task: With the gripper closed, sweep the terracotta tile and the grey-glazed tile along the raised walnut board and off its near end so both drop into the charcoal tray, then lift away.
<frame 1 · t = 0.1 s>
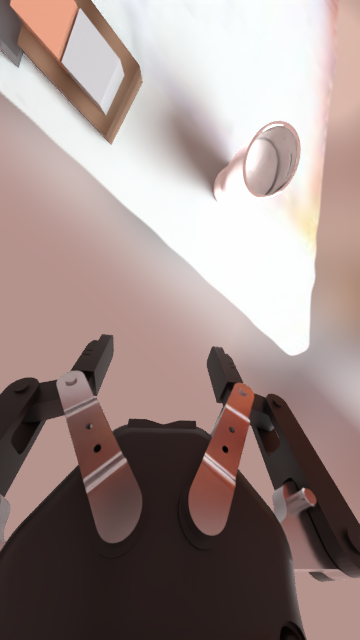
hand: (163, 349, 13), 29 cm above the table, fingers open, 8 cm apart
grey tile: (98, 76, 22), point 3 cm above the table, touching walnut board
terracotta tile: (56, 27, 20), point 3 cm above the table, touching walnut board
walnut board: (89, 73, 24), on the table
beer glass: (228, 187, 32), on the table
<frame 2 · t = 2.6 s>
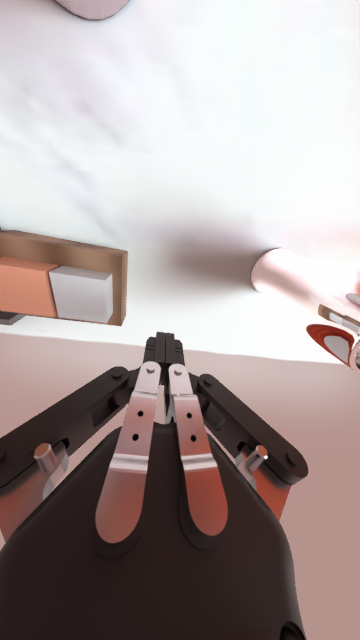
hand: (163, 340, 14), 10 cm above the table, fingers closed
grey tile: (90, 290, 19), point 3 cm above the table, touching walnut board
terracotta tile: (37, 283, 18), point 3 cm above the table, touching walnut board
walnut board: (78, 279, 21), on the table
beer glass: (271, 271, 23), on the table
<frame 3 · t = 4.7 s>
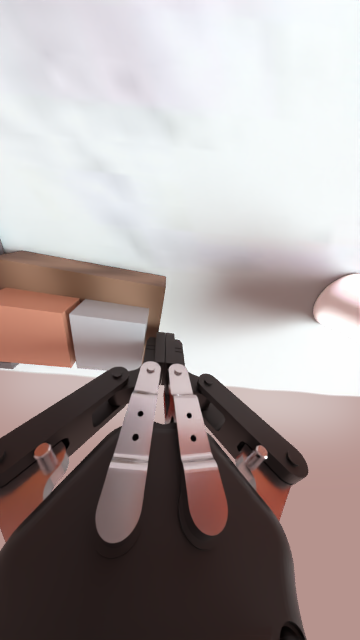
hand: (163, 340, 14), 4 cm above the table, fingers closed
grey tile: (117, 329, 15), point 3 cm above the table, touching gripper, walnut board
terracotta tile: (50, 320, 14), point 3 cm above the table, touching walnut board
walnut board: (100, 309, 17), on the table
beer glass: (339, 300, 18), on the table
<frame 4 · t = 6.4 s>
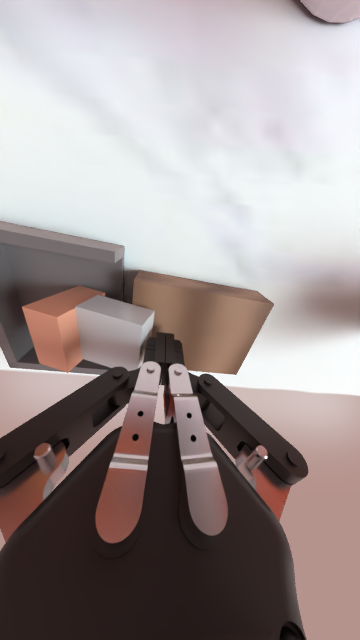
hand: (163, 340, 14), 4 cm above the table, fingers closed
charcoal tray: (75, 304, 16), on the table
grey tile: (125, 327, 15), point 3 cm above the table, tilted 16°, touching gripper, terracotta tile
terracotta tile: (87, 329, 14), point 4 cm above the table, tilted 106°, touching charcoal tray, grey tile
walnut board: (191, 320, 18), on the table
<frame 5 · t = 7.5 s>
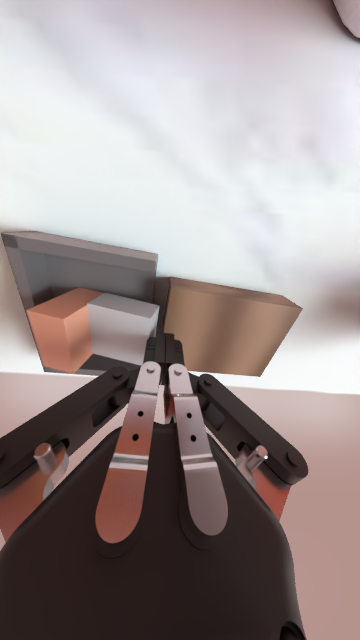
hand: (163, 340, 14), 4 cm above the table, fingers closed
charcoal tray: (106, 310, 17), on the table
grey tile: (131, 322, 16), point 2 cm above the table, tilted 13°, touching gripper, terracotta tile
terracotta tile: (91, 330, 14), point 4 cm above the table, tilted 103°, touching charcoal tray, grey tile
walnut board: (216, 324, 19), on the table
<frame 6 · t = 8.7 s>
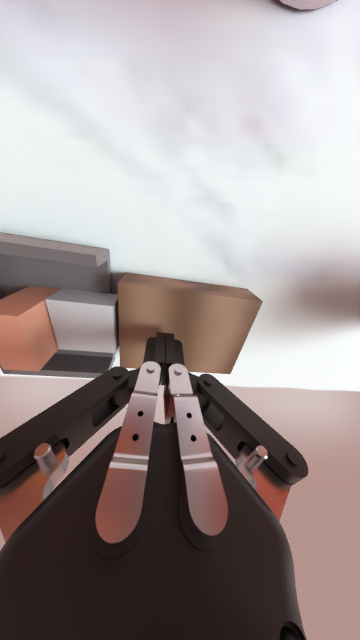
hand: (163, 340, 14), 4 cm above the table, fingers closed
charcoal tray: (65, 309, 16), on the table
grey tile: (95, 315, 16), point 1 cm above the table, touching charcoal tray
terracotta tile: (50, 327, 14), point 3 cm above the table, tilted 90°, touching charcoal tray
walnut board: (182, 321, 18), on the table
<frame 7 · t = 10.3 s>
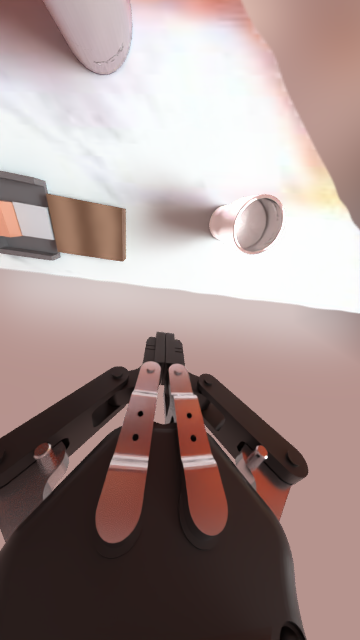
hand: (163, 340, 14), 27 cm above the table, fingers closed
charcoal tray: (27, 218, 31), on the table
grey tile: (42, 221, 31), point 1 cm above the table, touching charcoal tray
terracotta tile: (16, 219, 28), point 3 cm above the table, tilted 90°, touching charcoal tray
walnut board: (94, 230, 32), on the table
beer glass: (223, 223, 34), on the table
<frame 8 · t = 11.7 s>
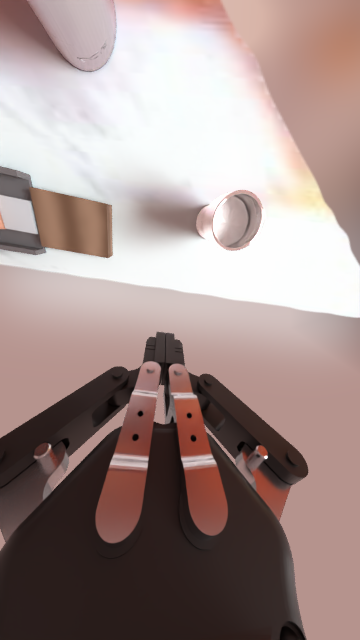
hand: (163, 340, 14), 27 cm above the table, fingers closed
charcoal tray: (11, 212, 30), on the table
grey tile: (27, 215, 30), point 1 cm above the table, touching charcoal tray
walnut board: (80, 225, 32), on the table
beer glass: (210, 222, 34), on the table
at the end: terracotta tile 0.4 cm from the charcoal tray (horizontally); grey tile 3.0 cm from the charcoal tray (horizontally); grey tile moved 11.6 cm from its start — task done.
